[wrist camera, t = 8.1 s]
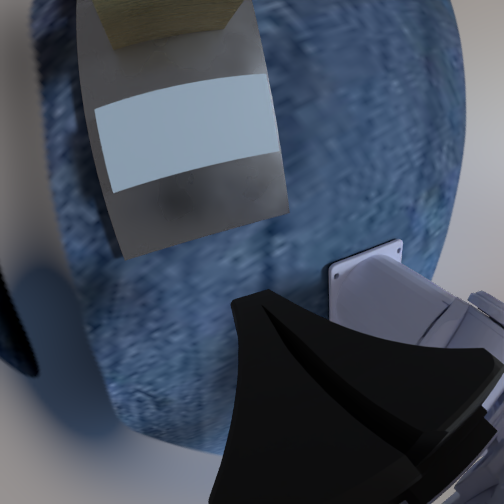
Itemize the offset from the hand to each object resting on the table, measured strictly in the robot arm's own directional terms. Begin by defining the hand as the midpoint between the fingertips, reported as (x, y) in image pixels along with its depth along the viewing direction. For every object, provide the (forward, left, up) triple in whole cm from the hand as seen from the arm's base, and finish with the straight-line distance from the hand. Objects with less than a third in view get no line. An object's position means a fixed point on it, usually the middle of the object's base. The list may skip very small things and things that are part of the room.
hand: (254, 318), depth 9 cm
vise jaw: (+7, 0, -7) cm, 10 cm away
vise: (+11, 0, -8) cm, 13 cm away
